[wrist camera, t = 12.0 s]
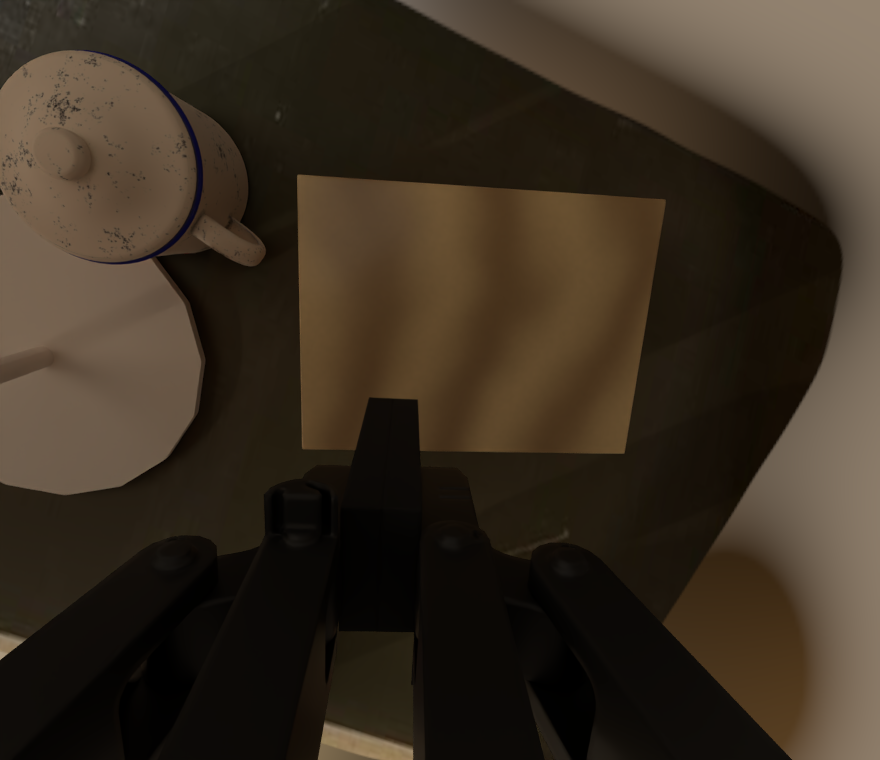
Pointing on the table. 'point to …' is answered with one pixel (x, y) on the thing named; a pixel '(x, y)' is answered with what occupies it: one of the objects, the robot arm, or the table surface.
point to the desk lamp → (89, 365)
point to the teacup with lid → (119, 164)
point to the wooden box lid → (473, 312)
